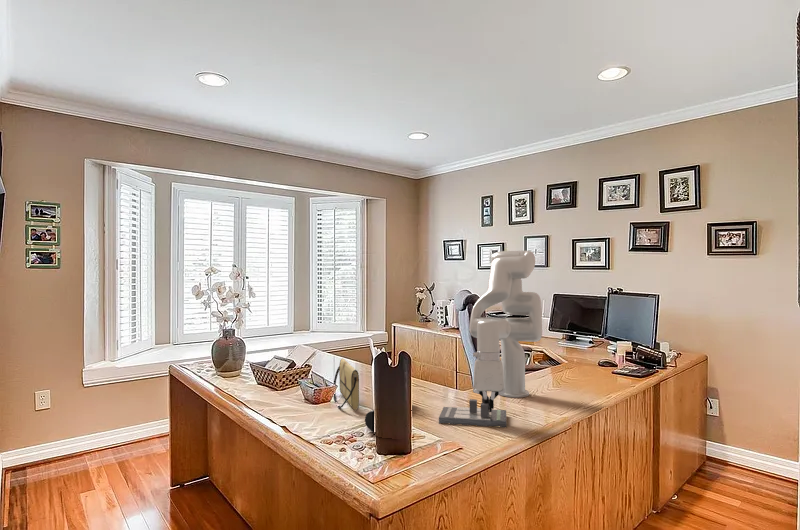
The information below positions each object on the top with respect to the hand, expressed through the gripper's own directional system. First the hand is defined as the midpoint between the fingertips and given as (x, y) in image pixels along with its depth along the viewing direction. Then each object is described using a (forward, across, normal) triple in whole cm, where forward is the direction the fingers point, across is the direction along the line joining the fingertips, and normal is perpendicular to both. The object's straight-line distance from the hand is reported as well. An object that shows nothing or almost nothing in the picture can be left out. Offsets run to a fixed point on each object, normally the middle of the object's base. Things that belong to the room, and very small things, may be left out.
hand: (489, 410), depth 158 cm
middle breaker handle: (+1, -5, 0) cm, 5 cm away
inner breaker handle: (+1, -1, +4) cm, 5 cm away
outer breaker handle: (+1, -1, -4) cm, 5 cm away
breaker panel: (+3, -5, 0) cm, 6 cm away
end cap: (+4, -33, -15) cm, 37 cm away
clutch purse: (+4, -57, +13) cm, 58 cm away
